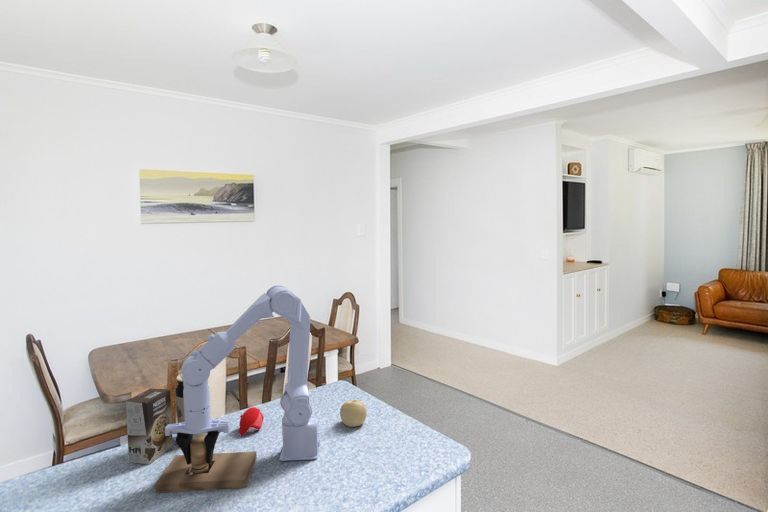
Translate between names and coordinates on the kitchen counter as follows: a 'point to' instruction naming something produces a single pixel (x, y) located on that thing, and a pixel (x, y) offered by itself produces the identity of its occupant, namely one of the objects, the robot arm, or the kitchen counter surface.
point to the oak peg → (198, 456)
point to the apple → (353, 413)
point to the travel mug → (181, 404)
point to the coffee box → (148, 425)
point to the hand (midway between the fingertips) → (199, 461)
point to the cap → (250, 420)
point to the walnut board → (222, 475)
